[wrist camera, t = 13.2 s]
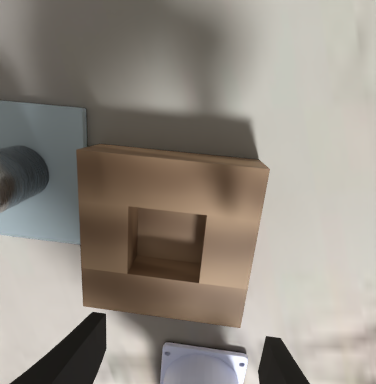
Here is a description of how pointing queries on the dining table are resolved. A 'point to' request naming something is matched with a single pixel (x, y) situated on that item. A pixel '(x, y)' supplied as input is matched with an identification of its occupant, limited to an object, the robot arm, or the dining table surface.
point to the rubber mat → (57, 166)
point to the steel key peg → (20, 175)
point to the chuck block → (168, 231)
